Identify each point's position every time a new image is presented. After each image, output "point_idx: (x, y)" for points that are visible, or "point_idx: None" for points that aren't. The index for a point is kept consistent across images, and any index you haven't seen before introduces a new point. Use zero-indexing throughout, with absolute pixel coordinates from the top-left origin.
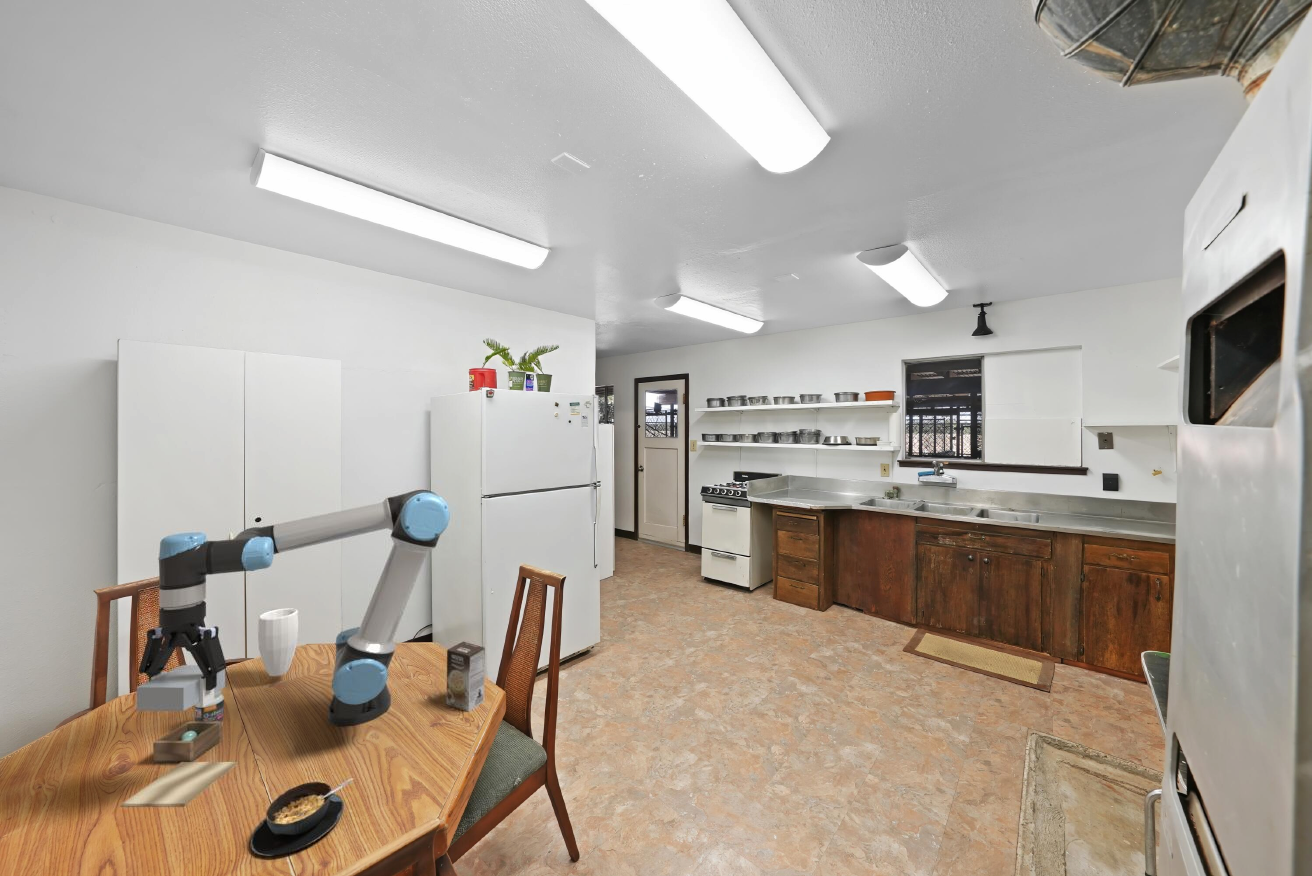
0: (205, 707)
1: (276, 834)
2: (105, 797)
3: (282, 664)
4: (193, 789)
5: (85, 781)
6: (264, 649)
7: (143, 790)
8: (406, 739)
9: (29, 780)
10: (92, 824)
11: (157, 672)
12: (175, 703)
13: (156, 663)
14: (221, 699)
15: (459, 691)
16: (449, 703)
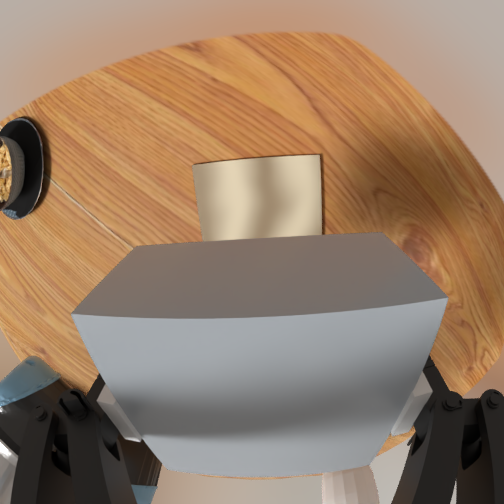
0: None
1: (21, 146)
2: (374, 177)
3: None
4: (215, 201)
5: (440, 218)
6: (356, 472)
7: (315, 191)
8: (42, 327)
9: (499, 219)
10: (322, 110)
11: (423, 422)
12: (162, 260)
13: (433, 475)
14: None
15: None
16: None
